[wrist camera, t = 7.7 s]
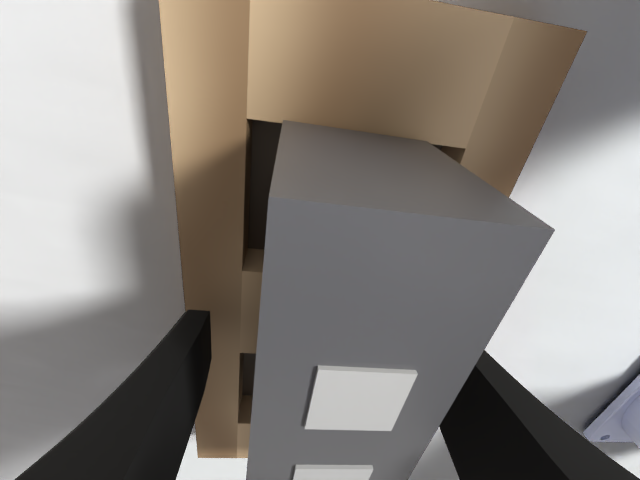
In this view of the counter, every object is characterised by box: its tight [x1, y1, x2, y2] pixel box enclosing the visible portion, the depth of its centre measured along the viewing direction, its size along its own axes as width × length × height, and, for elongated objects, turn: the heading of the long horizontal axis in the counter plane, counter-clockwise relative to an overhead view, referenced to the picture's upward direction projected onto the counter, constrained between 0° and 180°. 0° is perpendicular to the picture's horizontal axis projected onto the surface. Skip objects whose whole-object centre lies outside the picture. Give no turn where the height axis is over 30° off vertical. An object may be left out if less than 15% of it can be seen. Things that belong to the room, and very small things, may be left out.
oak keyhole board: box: [159, 0, 587, 458], centre depth 12 cm, size 9×18×2 cm, turn 172°
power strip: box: [246, 120, 555, 480], centre depth 9 cm, size 4×12×6 cm, turn 171°
